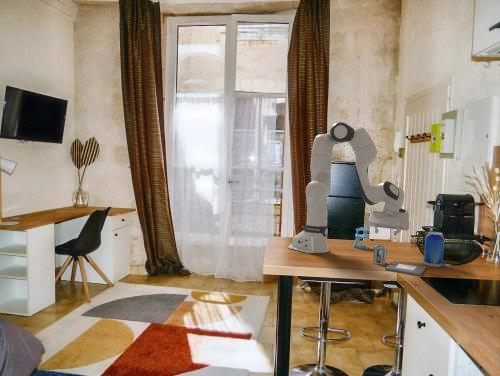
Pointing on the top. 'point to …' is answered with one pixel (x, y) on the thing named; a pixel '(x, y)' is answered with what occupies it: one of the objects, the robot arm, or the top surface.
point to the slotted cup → (383, 254)
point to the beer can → (434, 249)
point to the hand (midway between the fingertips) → (385, 233)
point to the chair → (360, 237)
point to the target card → (406, 268)
